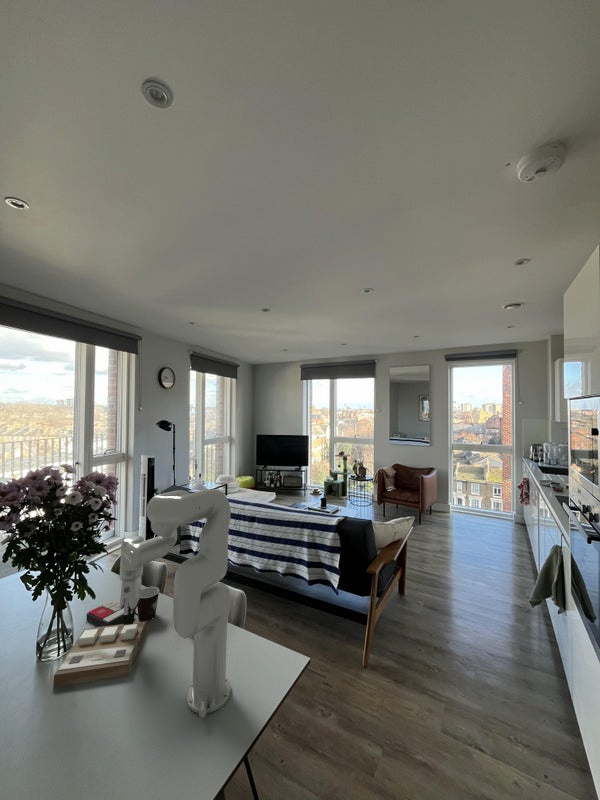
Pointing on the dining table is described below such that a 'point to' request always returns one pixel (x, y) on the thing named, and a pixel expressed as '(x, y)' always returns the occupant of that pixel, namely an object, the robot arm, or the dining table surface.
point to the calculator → (106, 614)
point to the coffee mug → (147, 604)
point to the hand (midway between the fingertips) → (128, 623)
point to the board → (99, 658)
